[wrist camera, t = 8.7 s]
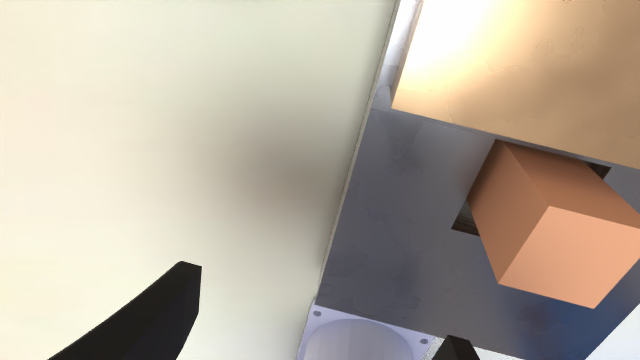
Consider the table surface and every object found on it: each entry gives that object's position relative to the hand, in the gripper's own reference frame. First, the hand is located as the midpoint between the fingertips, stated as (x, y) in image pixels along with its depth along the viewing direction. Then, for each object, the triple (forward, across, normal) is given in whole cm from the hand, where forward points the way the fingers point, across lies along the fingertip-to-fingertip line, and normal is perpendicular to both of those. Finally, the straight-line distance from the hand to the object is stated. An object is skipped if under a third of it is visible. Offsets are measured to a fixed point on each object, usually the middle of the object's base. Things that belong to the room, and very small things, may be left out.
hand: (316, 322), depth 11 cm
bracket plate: (+9, -7, -2) cm, 12 cm away
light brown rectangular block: (+9, -7, -3) cm, 12 cm away
